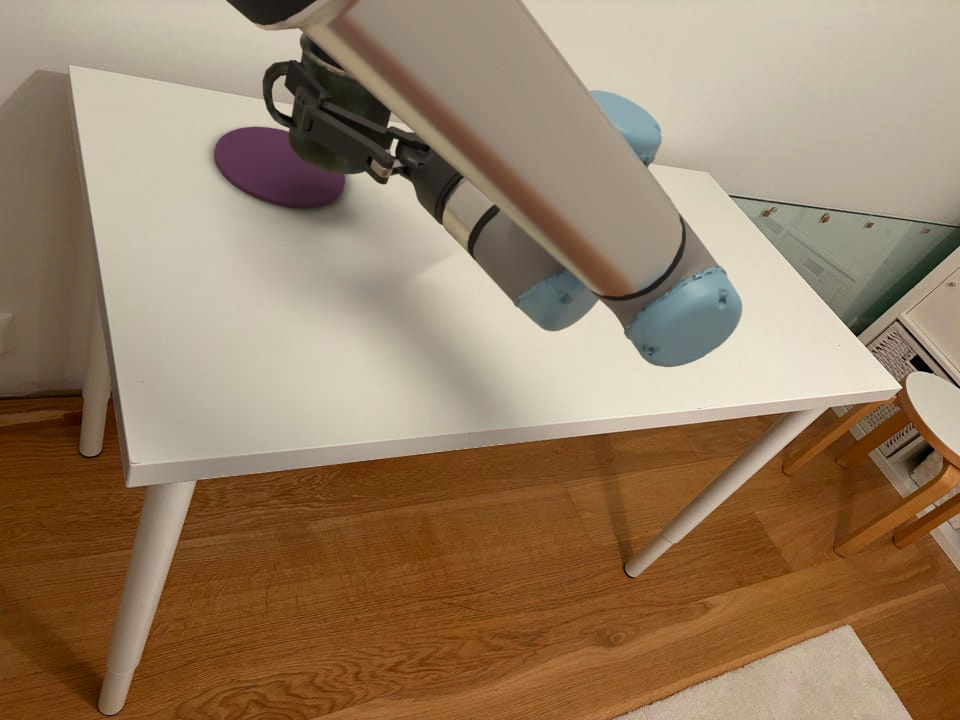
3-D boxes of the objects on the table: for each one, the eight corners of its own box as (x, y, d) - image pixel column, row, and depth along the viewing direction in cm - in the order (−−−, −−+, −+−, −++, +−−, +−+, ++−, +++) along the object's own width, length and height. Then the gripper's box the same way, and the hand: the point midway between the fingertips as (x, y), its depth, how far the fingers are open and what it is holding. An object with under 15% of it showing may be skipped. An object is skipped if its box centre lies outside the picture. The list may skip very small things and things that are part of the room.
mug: (395, 180, 83) (423, 84, 75) (268, 178, 75) (285, 71, 67) (362, 126, 89) (386, 31, 81) (242, 119, 81) (254, 14, 73)
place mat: (185, 145, 87) (185, 141, 86) (282, 120, 98) (283, 116, 98) (280, 222, 84) (281, 218, 83) (368, 187, 95) (370, 183, 95)
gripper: (354, 251, 62) (231, 109, 70) (537, 211, 78) (420, 100, 86) (378, 179, 57) (242, 35, 65) (567, 153, 74) (441, 40, 81)
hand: (343, 71), depth 76 cm, fingers closed on mug, 12 cm apart
